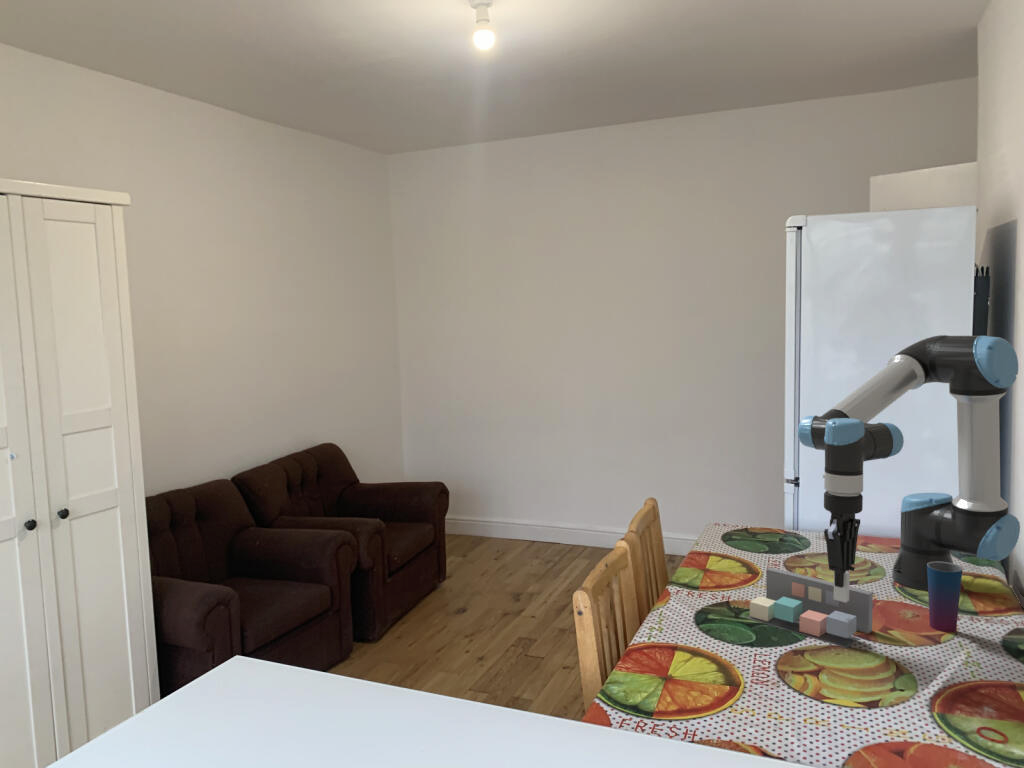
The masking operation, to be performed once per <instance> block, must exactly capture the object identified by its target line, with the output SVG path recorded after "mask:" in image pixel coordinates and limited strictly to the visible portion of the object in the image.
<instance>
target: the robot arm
mask: <svg viewBox="0 0 1024 768" xmlns="http://www.w3.org/2000/svg"><path fill="white" fill-rule="evenodd" d="M1018 373H1019V359H1018V355H1017V352H1016V350H1015V348H1014V346H1013V345H1012V344H1011V343H1010V342H1009V341H1008V340H1007V339H1005V338H1002V337H999V336H988V335H945V334H944V335H943V334H942V335H934V336H931V337H926V338H924V339H922V340H919V341H917V342H915V343H912V344H911V345H909V346H907V347H905V348H904V349H901V350H900V351H899V352H897V353H896V354H895V355H893V356H892V357H891V358H890V359H889V360H888V361H887V366H886V367H884V368H883V369H882V370H880V371H879V372H877V373H876V374H875V375H873V376H872V377H871V378H870V379H869V380H867V381H866V382H864V383H863V384H862V385H861V386H859V387H858V388H857V389H856V390H853V392H851V393H850V394H849V395H847V396H846V397H845V398H843V399H842V400H841V401H839V402H838V403H837V404H835V405H834V406H833V407H831V408H830V409H828V411H826V412H825V413H823V414H822V415H820V416H819V415H807V416H805V417H803V418H802V419H801V421H800V422H799V424H798V427H797V436H798V439H799V442H800V443H801V444H802V445H803V446H804V447H807V448H811V449H815V450H819V451H820V450H821V451H824V473H823V474H822V478H823V479H824V485H823V487H824V488H823V489H824V490H825V492H824V493H823V507H824V510H825V511H828V512H829V513H830V519H829V528H825V529H824V530H823V535H824V537H825V542H826V543H825V544H826V550H827V563H828V569H829V571H833V583H834V600H838V601H842V602H848V601H849V586H850V578H851V577H850V574H851V572H852V571H853V572H854V571H855V569H856V567H854V566H853V565H855V562H856V553H857V545H858V536H859V535H858V534H859V530H860V526H861V519H859V518H856V514H860V513H862V511H863V504H864V503H863V499H864V498H863V494H862V493H863V491H864V462H869V461H875V460H881V459H882V460H884V459H888V458H891V457H893V456H897V454H899V453H900V452H901V451H902V450H903V447H904V441H905V440H904V435H903V432H902V431H901V429H900V428H899V427H898V426H897V425H896V424H894V423H890V422H877V423H869V422H870V421H871V420H873V419H874V418H875V417H877V416H878V415H879V414H881V412H883V411H884V410H885V409H887V408H888V407H890V406H891V405H893V403H895V402H896V401H897V400H898V399H899V398H901V397H902V396H903V395H905V394H906V393H907V392H909V391H911V390H913V391H914V390H917V389H919V388H920V387H922V386H923V385H924V384H930V383H941V384H948V387H949V388H948V389H949V394H950V395H951V396H952V397H953V398H954V399H956V421H957V422H956V423H957V425H956V427H957V459H958V460H957V461H958V462H957V465H958V466H957V467H958V468H957V469H958V471H957V472H958V495H957V496H956V497H954V498H953V496H952V495H951V494H950V493H944V492H943V493H942V492H917V493H911V494H906V495H905V496H904V497H903V498H902V500H901V506H900V510H899V511H900V512H899V513H900V539H899V541H900V547H899V551H898V554H897V557H896V559H895V561H894V564H893V566H892V573H891V574H892V575H891V576H892V577H891V578H892V579H893V580H894V581H895V582H896V583H898V584H900V585H902V586H905V587H908V588H912V589H917V590H922V591H928V575H927V564H928V563H929V562H935V561H940V562H949V563H953V564H955V563H954V560H953V557H952V551H954V552H958V553H962V554H965V555H969V556H973V557H977V558H978V559H980V560H983V559H985V560H989V561H994V562H998V561H1003V560H1004V559H1006V558H1008V557H1009V556H1010V554H1011V553H1012V552H1013V551H1014V549H1015V547H1016V545H1017V543H1018V541H1019V536H1020V533H1021V526H1020V525H1021V524H1020V521H1019V518H1018V517H1016V516H1015V515H1013V514H1010V513H1009V504H1008V502H1007V501H1006V500H1004V499H1003V498H1002V497H1001V456H1000V455H1001V453H1000V452H1001V449H1000V448H1001V447H1000V446H1001V443H1000V442H1001V441H1000V440H1001V439H1000V435H1001V434H1000V400H1001V398H1003V397H1004V396H1005V395H1006V394H1007V388H1009V387H1012V385H1014V383H1015V382H1016V379H1017V375H1018ZM850 571H851V572H850Z"/></svg>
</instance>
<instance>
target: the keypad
mask: <svg viewBox="0 0 1024 768" xmlns="http://www.w3.org/2000/svg"><path fill="white" fill-rule="evenodd" d="M765 576H766V578H765V579H766V580H765V581H766V582H765V583H766V587H765V589H766V590H765V593H766V594H765V595H766V597H765V598H768V599H771V600H775V601H777V600H779V599H780V598H782V597H787V598H791V599H794V600H798V601H802V614H803V613H805V612H806V611H808V610H811V611H815V612H819V613H822V614H826V615H830V614H831V613H833V612H834V611H839V612H843V613H847V614H850V615H854V616H856V632H857V631H858V632H861V633H865V634H870V633H871V632H873V612H874V611H873V608H874V605H873V602H874V599H873V598H874V597H873V596H874V592H873V591H870V590H866V589H862V588H857V587H853V586H850V585H849V601H848V602H842V601H838V600H834V581H829V580H825V579H821V578H817V577H813V576H812V577H811V576H807V575H804V574H801V573H796V572H792V571H789V570H783V569H779V568H776V567H768V568H767V569H766V575H765ZM747 619H748V620H752V621H755V622H757V623H758V622H759V623H761V624H765V625H769V626H771V627H774V628H778V629H782V630H785V631H788V632H791V633H795V634H798V635H802V636H804V637H808V638H812V639H815V640H817V641H821V642H824V643H827V644H831V645H834V646H838V647H841V648H845V649H848V648H849V647H850V646H851V645H853V644H854V643H855V642H857V641H858V640H859V639H860V638H859V637H855V636H853V635H851V636H850V637H849V638H844V637H841V636H837V635H834V634H830V633H827V632H826V633H824V634H823V635H822V636H820V637H818V636H814V635H811V634H808V633H804V632H801V631H799V626H800V620H796V621H795V622H789V621H786V620H782V619H779V618H775V617H774V618H773V619H771V620H770V621H768V622H767V621H764V620H761V619H757V618H754V617H751V616H750V615H749V616H748V617H747Z"/></svg>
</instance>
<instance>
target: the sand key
mask: <svg viewBox="0 0 1024 768" xmlns="http://www.w3.org/2000/svg"><path fill="white" fill-rule="evenodd" d="M774 602H775V600H771V599H768V598H766V597H764V596H760V595H759V596H757V597H756V598H753V599H752V600H750V601H749V616H751V617H754V618H757V619H761V620H764V621H767V622H768V621H770V620H771V619H773V618H774Z"/></svg>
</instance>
